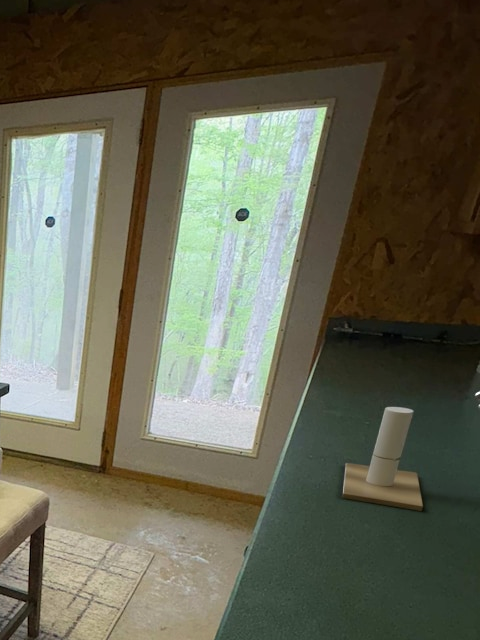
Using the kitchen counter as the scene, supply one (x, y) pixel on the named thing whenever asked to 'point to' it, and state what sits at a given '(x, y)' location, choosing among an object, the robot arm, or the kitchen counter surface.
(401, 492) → the birch board
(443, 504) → the kitchen counter surface
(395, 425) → the tube
